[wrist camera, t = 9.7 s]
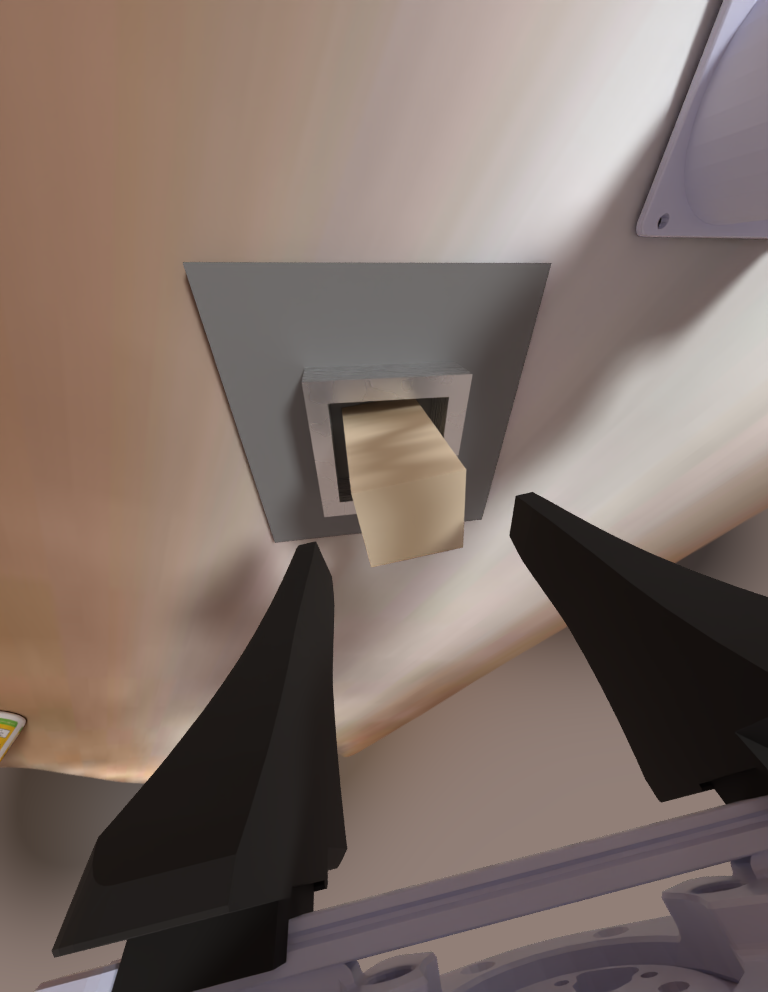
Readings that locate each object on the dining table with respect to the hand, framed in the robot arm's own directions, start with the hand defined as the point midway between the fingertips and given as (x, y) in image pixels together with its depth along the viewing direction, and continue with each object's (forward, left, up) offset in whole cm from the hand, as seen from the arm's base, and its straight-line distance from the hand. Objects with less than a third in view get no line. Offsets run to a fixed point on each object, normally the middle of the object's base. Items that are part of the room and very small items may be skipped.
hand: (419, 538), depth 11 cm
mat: (0, 0, -9) cm, 9 cm away
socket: (0, 0, -9) cm, 9 cm away
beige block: (0, 0, -9) cm, 9 cm away
